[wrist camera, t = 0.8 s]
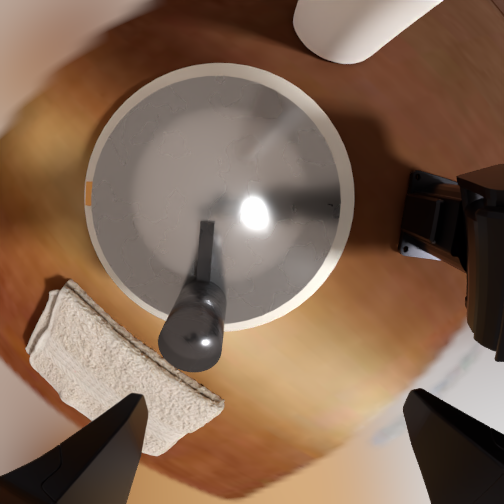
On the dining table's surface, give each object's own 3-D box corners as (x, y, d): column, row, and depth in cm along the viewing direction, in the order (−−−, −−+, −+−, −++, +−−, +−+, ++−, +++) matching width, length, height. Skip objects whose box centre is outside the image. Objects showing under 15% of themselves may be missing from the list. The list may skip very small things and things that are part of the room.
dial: (114, 84, 15) (63, 53, 9) (344, 101, 16) (391, 72, 10) (104, 298, 19) (59, 345, 13) (311, 321, 20) (336, 379, 14)
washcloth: (68, 268, 21) (48, 281, 18) (231, 395, 24) (230, 419, 21) (31, 346, 23) (16, 361, 20) (163, 444, 26) (158, 464, 23)
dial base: (358, 92, 17) (368, 86, 16) (322, 329, 22) (327, 341, 20) (109, 72, 16) (98, 65, 15) (97, 304, 21) (88, 314, 19)
